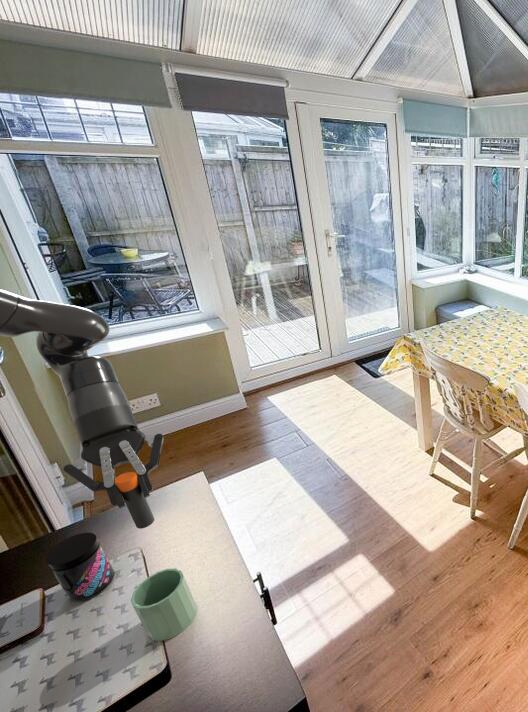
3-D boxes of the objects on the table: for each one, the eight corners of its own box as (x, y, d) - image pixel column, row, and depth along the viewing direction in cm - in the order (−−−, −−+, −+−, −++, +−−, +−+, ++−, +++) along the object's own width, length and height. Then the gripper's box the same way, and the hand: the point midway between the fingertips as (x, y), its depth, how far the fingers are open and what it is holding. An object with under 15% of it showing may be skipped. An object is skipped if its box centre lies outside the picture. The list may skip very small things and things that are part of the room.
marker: (133, 531, 74) (112, 485, 69) (137, 519, 76) (117, 474, 72) (153, 525, 75) (133, 480, 71) (156, 514, 77) (137, 469, 73)
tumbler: (143, 648, 70) (125, 615, 66) (154, 610, 76) (137, 577, 72) (193, 629, 73) (178, 597, 69) (199, 594, 79) (186, 562, 75)
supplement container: (69, 611, 75) (44, 572, 71) (67, 585, 79) (44, 547, 75) (118, 586, 79) (98, 548, 75) (114, 562, 84) (95, 526, 79)
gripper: (39, 424, 67) (74, 523, 64) (149, 392, 76) (183, 477, 74) (52, 435, 72) (84, 526, 70) (153, 404, 82) (184, 484, 79)
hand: (135, 501), depth 72 cm, fingers closed on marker, 2 cm apart
